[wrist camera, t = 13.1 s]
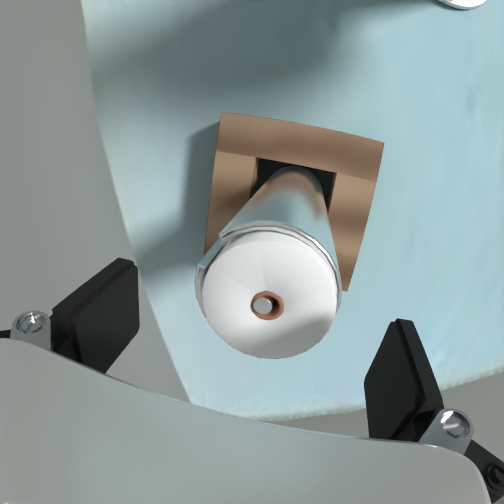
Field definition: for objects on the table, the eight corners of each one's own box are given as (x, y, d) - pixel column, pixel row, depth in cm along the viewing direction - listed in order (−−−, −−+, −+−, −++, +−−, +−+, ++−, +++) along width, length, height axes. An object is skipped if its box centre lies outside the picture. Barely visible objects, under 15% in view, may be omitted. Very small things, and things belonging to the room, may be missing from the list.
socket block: (233, 115, 34) (221, 112, 29) (374, 141, 32) (384, 142, 27) (215, 246, 40) (203, 261, 35) (343, 272, 38) (347, 291, 33)
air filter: (309, 156, 34) (310, 202, 11) (330, 209, 36) (362, 345, 13) (256, 178, 36) (159, 261, 13) (278, 229, 38) (227, 379, 15)
